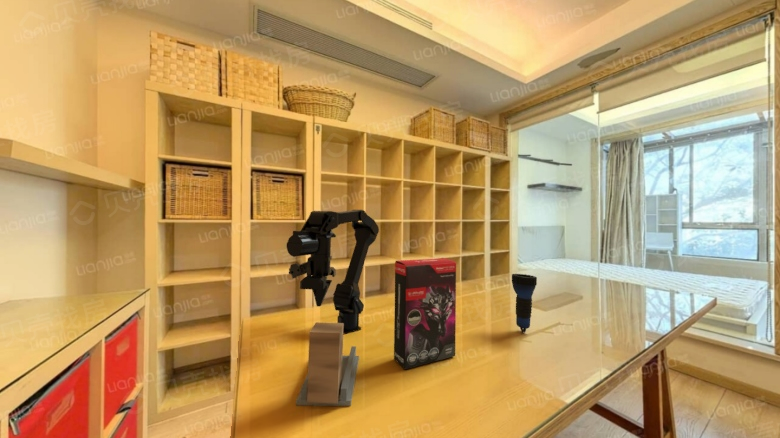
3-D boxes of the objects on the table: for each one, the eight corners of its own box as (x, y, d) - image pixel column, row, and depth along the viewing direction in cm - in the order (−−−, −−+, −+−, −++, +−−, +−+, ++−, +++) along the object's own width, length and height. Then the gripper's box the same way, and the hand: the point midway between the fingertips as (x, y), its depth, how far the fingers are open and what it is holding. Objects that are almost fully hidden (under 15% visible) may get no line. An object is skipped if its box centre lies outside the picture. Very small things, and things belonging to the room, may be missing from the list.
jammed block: (313, 387, 58) (315, 322, 58) (341, 387, 58) (343, 323, 58) (307, 402, 53) (309, 332, 53) (337, 403, 53) (339, 332, 53)
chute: (318, 358, 72) (318, 345, 72) (358, 359, 72) (359, 346, 72) (296, 405, 54) (296, 387, 54) (350, 406, 54) (351, 388, 54)
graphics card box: (403, 372, 67) (407, 263, 67) (390, 358, 73) (394, 259, 73) (456, 357, 75) (459, 261, 75) (440, 347, 81) (443, 257, 81)
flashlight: (522, 326, 99) (524, 272, 99) (540, 335, 92) (542, 277, 92) (505, 328, 97) (506, 273, 97) (522, 337, 89) (524, 278, 89)
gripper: (302, 248, 88) (301, 296, 88) (281, 256, 69) (278, 316, 69) (336, 249, 88) (335, 297, 88) (324, 258, 69) (322, 317, 69)
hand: (318, 306), depth 78 cm, fingers closed
